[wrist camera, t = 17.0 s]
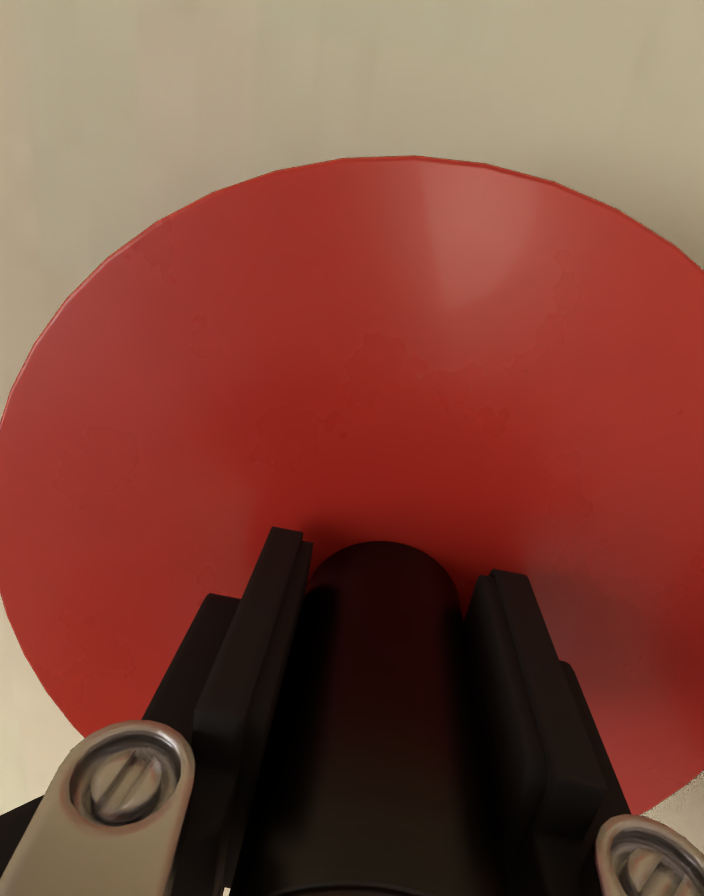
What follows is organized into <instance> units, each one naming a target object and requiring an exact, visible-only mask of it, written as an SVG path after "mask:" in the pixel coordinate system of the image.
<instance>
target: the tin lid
mask: <svg viewBox="0 0 704 896" xmlns="http://www.w3.org/2000/svg"><path fill="white" fill-rule="evenodd" d="M272 526H274V527H279V528H285V529H290V530H295V531H300V532H303V541H308V542H313V543H314V545H313V552H312V557H311V563H310V569H309V575H308V581H307V586H306V592H305V598H304V602H303V606H302V610H301V614H300V618H299V622H298V626H297V630H296V634H295V638H294V642H293V646H292V650H291V654H290V658H289V662H288V666H287V670H286V674H285V677H284V681H283V685H282V689H281V693H280V697H279V701H278V705H277V709H276V713H275V717H274V721H273V725H272V729H271V733H270V737H269V741H268V745H267V749H266V753H265V757H264V761H263V765H262V769H261V773H260V777H259V781H258V785H257V789H256V793H255V797H254V801H253V805H252V807H251V810H250V814H249V818H248V822H247V826H246V830H245V834H244V838H243V842H242V846H241V850H240V854H239V857H238V861H237V865H236V869H235V873H234V877H233V881H232V885H231V889H230V893H229V896H510V894H509V888H508V882H507V876H506V870H505V865H504V859H503V853H502V847H501V841H500V835H499V829H498V823H497V817H496V811H495V806H494V800H493V794H492V788H491V782H490V776H489V770H488V764H487V758H486V752H485V747H484V741H483V735H482V729H481V723H480V717H479V711H478V705H477V699H476V693H475V687H474V682H473V676H472V670H471V664H470V658H469V652H468V646H467V640H466V634H465V628H464V620H465V617H466V614H467V610H468V607H469V604H470V600H471V597H472V594H473V591H474V587H475V584H476V581H477V578H478V577H479V575H485V576H489V573H490V572H491V570H492V569H499V570H504V571H509V572H514V573H519V574H524V575H527V577H528V579H529V581H530V584H531V586H532V589H533V592H534V594H535V597H536V600H537V602H538V605H539V608H540V610H541V613H542V616H543V618H544V621H545V624H546V626H547V629H548V632H549V634H550V637H551V640H552V642H553V645H554V648H555V650H556V653H557V656H558V658H559V660H561V661H566V662H567V663H569V664H570V665H571V667H572V668H573V670H574V672H575V674H576V677H577V679H578V682H579V684H580V687H581V689H582V692H583V694H584V697H585V699H586V702H587V704H588V707H589V709H590V712H591V714H592V717H593V719H594V722H595V724H596V727H597V729H598V732H599V734H600V737H601V739H602V742H603V744H604V747H605V749H606V752H607V754H608V757H609V759H610V762H611V764H612V767H613V769H614V772H615V774H616V777H617V779H618V782H619V784H620V787H621V789H622V792H623V794H624V797H625V799H626V802H627V804H628V807H629V809H630V812H631V814H632V815H641V814H643V813H644V812H646V811H648V810H650V809H652V808H653V807H655V806H656V805H658V804H659V803H660V802H662V801H663V800H665V799H666V798H668V797H669V796H671V795H672V794H674V793H675V792H677V791H678V790H679V789H681V788H682V787H684V786H685V785H687V784H688V783H689V782H690V781H691V780H693V779H694V778H695V777H696V776H697V775H698V774H700V773H701V772H702V771H703V770H704V270H702V269H701V268H700V267H699V266H698V265H697V264H696V263H695V262H693V261H692V260H691V259H690V258H689V257H688V256H687V255H685V254H684V253H683V252H682V251H681V250H680V249H679V248H677V247H676V246H675V245H674V244H672V243H671V242H669V241H667V240H666V239H664V238H663V237H661V236H660V235H658V234H656V233H655V232H653V231H652V230H650V229H648V228H647V227H645V226H644V225H642V224H641V223H639V222H637V221H636V220H634V219H633V218H631V217H629V216H628V215H626V214H625V213H623V212H622V211H620V210H618V209H616V208H614V207H612V206H609V205H607V204H605V203H602V202H600V201H598V200H596V199H593V198H591V197H589V196H586V195H584V194H582V193H579V192H577V191H575V190H572V189H570V188H568V187H566V186H563V185H561V184H559V183H556V182H554V181H550V180H547V179H543V178H539V177H535V176H531V175H528V174H524V173H520V172H516V171H513V170H509V169H505V168H501V167H497V166H494V165H490V164H486V163H478V162H469V161H460V160H451V159H442V158H433V157H424V156H415V155H413V156H384V157H356V158H341V159H336V160H330V161H325V162H319V163H314V164H308V165H303V166H297V167H292V168H286V169H281V170H276V171H273V172H270V173H267V174H264V175H261V176H258V177H255V178H253V179H250V180H247V181H244V182H241V183H238V184H235V185H232V186H229V187H226V188H223V189H220V190H217V191H214V192H212V193H210V194H208V195H206V196H204V197H202V198H201V199H199V200H197V201H195V202H193V203H191V204H189V205H187V206H185V207H183V208H181V209H179V210H177V211H176V212H174V213H172V214H170V215H168V216H166V217H164V218H162V219H160V220H158V221H156V222H155V223H154V224H152V225H151V226H149V227H148V228H147V229H145V230H144V231H143V232H141V233H140V234H139V235H137V236H136V237H134V238H133V239H132V240H130V241H129V242H128V243H126V244H125V245H124V246H122V247H121V248H119V249H118V250H117V251H115V252H114V253H113V254H111V255H110V256H109V257H107V258H106V259H105V260H104V261H103V262H102V263H101V264H100V265H99V266H98V267H97V268H96V269H95V270H94V271H93V272H92V273H91V274H90V275H89V276H88V277H87V278H86V279H85V280H84V281H83V282H82V283H81V284H80V285H79V286H78V287H77V288H76V289H75V290H74V291H73V292H72V293H71V294H70V295H69V296H68V297H67V298H66V300H65V301H64V303H63V304H62V305H61V307H60V308H59V310H58V311H57V312H56V314H55V315H54V316H53V318H52V319H51V321H50V322H49V323H48V325H47V326H46V328H45V329H44V330H43V332H42V333H41V334H40V336H39V337H38V339H37V340H36V341H35V343H34V345H33V347H32V349H31V351H30V353H29V355H28V357H27V359H26V361H25V363H24V365H23V367H22V369H21V371H20V373H19V375H18V377H17V379H16V381H15V383H14V385H13V387H12V389H11V391H10V394H9V397H8V400H7V403H6V406H5V409H4V413H3V416H2V419H1V422H0V593H1V597H2V600H3V604H4V607H5V610H6V614H7V617H8V619H9V622H10V624H11V626H12V628H13V631H14V633H15V635H16V637H17V640H18V642H19V644H20V646H21V649H22V651H23V653H24V655H25V657H26V659H27V660H28V662H29V664H30V665H31V667H32V669H33V670H34V672H35V674H36V675H37V677H38V679H39V680H40V682H41V684H42V685H43V687H44V689H45V690H46V692H47V693H48V695H49V696H50V697H51V698H52V700H53V701H54V702H55V704H56V705H57V706H58V707H59V709H60V710H61V711H62V713H63V714H64V715H65V717H66V718H67V719H68V720H69V722H70V723H71V724H72V725H73V727H74V728H75V729H76V730H77V731H78V732H79V733H80V734H81V735H82V736H83V737H84V738H86V737H87V736H88V735H90V734H92V733H94V732H96V731H98V730H100V729H102V728H104V727H106V726H108V725H111V724H115V723H119V722H123V721H127V720H141V719H142V717H143V715H144V713H145V711H146V709H147V708H148V706H149V704H150V702H151V700H152V698H153V696H154V694H155V692H156V690H157V688H158V686H159V685H160V683H161V681H162V679H163V677H164V675H165V673H166V671H167V669H168V667H169V665H170V664H171V662H172V660H173V658H174V656H175V654H176V652H177V650H178V648H179V646H180V644H181V642H182V641H183V639H184V637H185V635H186V633H187V631H188V629H189V627H190V625H191V623H192V621H193V620H194V618H195V616H196V614H197V612H198V610H199V608H200V606H201V604H202V602H203V600H204V599H205V597H206V596H207V595H208V594H209V593H213V594H218V595H223V596H229V597H234V598H239V599H241V598H242V596H243V594H244V591H245V589H246V587H247V584H248V582H249V579H250V577H251V575H252V572H253V570H254V568H255V565H256V563H257V560H258V558H259V556H260V553H261V551H262V549H263V546H264V544H265V542H266V539H267V537H268V534H269V532H270V530H271V528H272Z"/></svg>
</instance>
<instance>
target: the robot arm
mask: <svg viewBox="0 0 704 896" xmlns="http://www.w3.org/2000/svg"><path fill="white" fill-rule="evenodd" d="M313 545H314V543H313V542H308V541H303V532H300V531H295V530H290V529H285V528H279V527H274V526H272V528H271V530H270V532H269V534H268V537H267V539H266V542H265V544H264V546H263V549H262V551H261V553H260V556H259V558H258V560H257V563H256V565H255V568H254V570H253V572H252V575H251V577H250V579H249V582H248V584H247V587H246V589H245V591H244V594H243V596H242V598H241V599H239V598H234V597H229V596H223V595H218V594H213V593H209V594H208V595H207V596H206V597H205V599H204V600H203V602H202V604H201V606H200V608H199V610H198V612H197V614H196V616H195V618H194V620H193V621H192V623H191V625H190V627H189V629H188V631H187V633H186V635H185V637H184V639H183V641H182V642H181V644H180V646H179V648H178V650H177V652H176V654H175V656H174V658H173V660H172V662H171V664H170V665H169V667H168V669H167V671H166V673H165V675H164V677H163V679H162V681H161V683H160V685H159V686H158V688H157V690H156V692H155V694H154V696H153V698H152V700H151V702H150V704H149V706H148V708H147V709H146V711H145V713H144V715H143V717H142V719H141V720H127V721H123V722H119V723H115V724H111V725H108V726H106V727H104V728H102V729H100V730H98V731H96V732H94V733H92V734H90V735H88V736H87V737H86V738H85V739H84V740H82V741H81V742H80V743H79V744H78V745H76V746H75V747H74V748H73V749H72V750H71V751H70V753H69V754H68V755H67V757H66V758H65V759H64V761H63V762H62V764H61V765H60V766H59V768H58V770H57V772H56V774H55V776H54V778H53V780H52V781H51V783H50V785H49V787H48V789H47V791H46V793H45V795H43V796H41V797H39V798H36V799H34V800H32V801H30V802H28V803H26V804H24V805H22V806H20V807H17V808H15V809H13V810H11V811H9V812H7V813H5V814H3V815H1V816H0V896H223V892H224V888H225V887H226V888H231V885H232V881H233V877H234V873H235V869H236V865H237V861H238V857H239V854H240V850H241V846H242V842H243V838H244V834H245V830H246V826H247V822H248V818H249V814H250V810H251V807H252V805H253V801H254V797H255V793H256V789H257V785H258V781H259V777H260V773H261V769H262V765H263V761H264V757H265V753H266V749H267V745H268V741H269V737H270V733H271V729H272V725H273V721H274V717H275V713H276V709H277V705H278V701H279V697H280V693H281V689H282V685H283V681H284V677H285V674H286V670H287V666H288V662H289V658H290V654H291V650H292V646H293V642H294V638H295V634H296V630H297V626H298V622H299V618H300V614H301V610H302V606H303V602H304V598H305V592H306V586H307V581H308V575H309V569H310V563H311V557H312V552H313ZM464 628H465V634H466V640H467V646H468V652H469V658H470V664H471V670H472V676H473V682H474V687H475V693H476V699H477V705H478V711H479V717H480V723H481V729H482V735H483V741H484V747H485V752H486V758H487V764H488V770H489V776H490V782H491V788H492V794H493V800H494V806H495V811H496V817H497V823H498V829H499V835H500V841H501V847H502V853H503V859H504V865H505V870H506V876H507V882H508V888H509V894H510V896H704V854H703V853H701V852H700V851H699V850H698V849H697V848H696V847H695V846H694V845H692V844H691V843H690V842H689V841H688V840H687V839H686V838H685V837H683V836H682V835H680V834H679V833H677V832H675V831H674V830H672V829H671V828H669V827H668V826H666V825H664V824H662V823H660V822H657V821H655V820H652V819H650V818H647V817H645V816H639V815H632V814H631V812H630V809H629V807H628V804H627V802H626V799H625V797H624V794H623V792H622V789H621V787H620V784H619V782H618V779H617V777H616V774H615V772H614V769H613V767H612V764H611V762H610V759H609V757H608V754H607V752H606V749H605V747H604V744H603V742H602V739H601V737H600V734H599V732H598V729H597V727H596V724H595V722H594V719H593V717H592V714H591V712H590V709H589V707H588V704H587V702H586V699H585V697H584V694H583V692H582V689H581V687H580V684H579V682H578V679H577V677H576V674H575V672H574V670H573V668H572V667H571V665H570V664H569V663H567V662H566V661H561V660H559V658H558V656H557V653H556V650H555V648H554V645H553V642H552V640H551V637H550V634H549V632H548V629H547V626H546V624H545V621H544V618H543V616H542V613H541V610H540V608H539V605H538V602H537V600H536V597H535V594H534V592H533V589H532V586H531V584H530V581H529V579H528V577H527V575H524V574H519V573H514V572H509V571H504V570H499V569H492V570H491V572H490V573H489V576H485V575H479V577H478V578H477V581H476V584H475V587H474V591H473V594H472V597H471V600H470V604H469V607H468V610H467V614H466V617H465V620H464Z"/></svg>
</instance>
